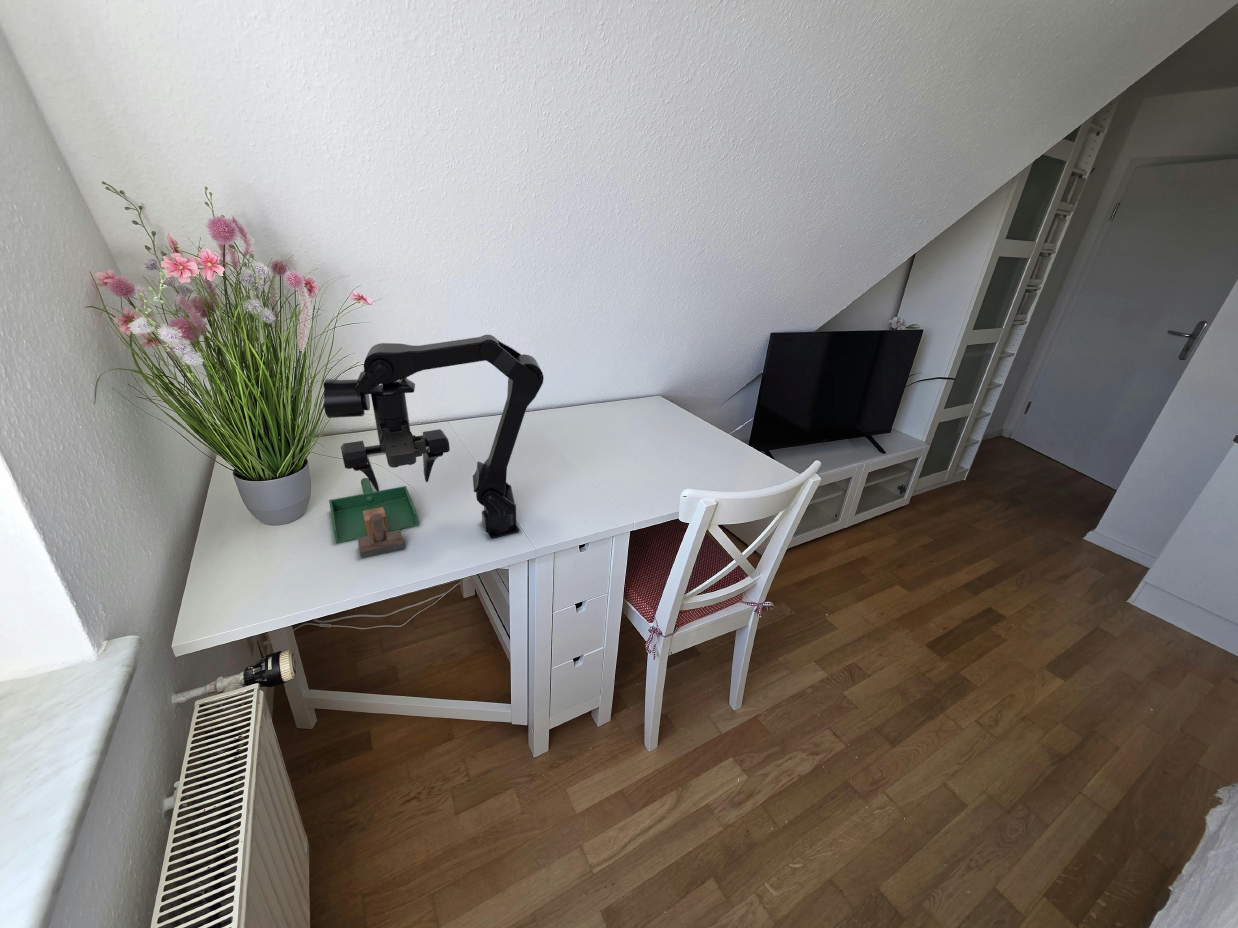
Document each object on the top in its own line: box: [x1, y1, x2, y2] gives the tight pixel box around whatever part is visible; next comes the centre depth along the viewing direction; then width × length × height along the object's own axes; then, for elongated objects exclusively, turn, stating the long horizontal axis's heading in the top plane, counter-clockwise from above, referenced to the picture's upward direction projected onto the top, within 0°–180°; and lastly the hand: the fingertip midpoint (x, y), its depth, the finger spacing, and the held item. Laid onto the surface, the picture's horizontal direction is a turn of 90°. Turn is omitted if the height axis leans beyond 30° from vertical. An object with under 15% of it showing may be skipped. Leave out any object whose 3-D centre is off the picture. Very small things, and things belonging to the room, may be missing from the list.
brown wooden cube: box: [363, 507, 388, 536], centre depth 109 cm, size 4×4×4 cm
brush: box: [357, 514, 405, 559], centre depth 102 cm, size 8×3×8 cm, turn 117°
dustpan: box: [328, 477, 419, 544], centre depth 116 cm, size 22×16×3 cm
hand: (402, 485), depth 102 cm, fingers open, 9 cm apart
